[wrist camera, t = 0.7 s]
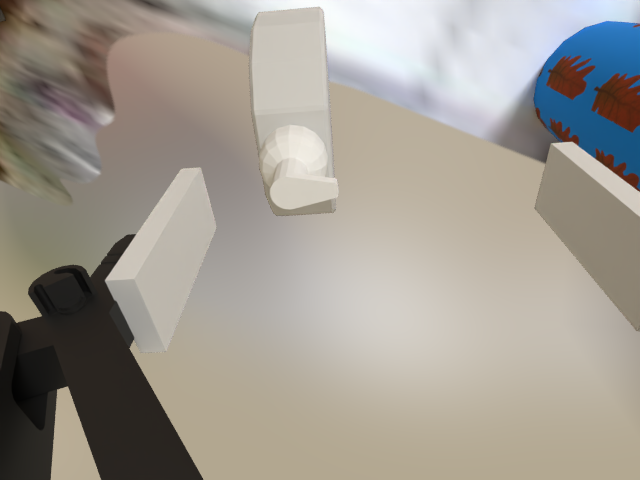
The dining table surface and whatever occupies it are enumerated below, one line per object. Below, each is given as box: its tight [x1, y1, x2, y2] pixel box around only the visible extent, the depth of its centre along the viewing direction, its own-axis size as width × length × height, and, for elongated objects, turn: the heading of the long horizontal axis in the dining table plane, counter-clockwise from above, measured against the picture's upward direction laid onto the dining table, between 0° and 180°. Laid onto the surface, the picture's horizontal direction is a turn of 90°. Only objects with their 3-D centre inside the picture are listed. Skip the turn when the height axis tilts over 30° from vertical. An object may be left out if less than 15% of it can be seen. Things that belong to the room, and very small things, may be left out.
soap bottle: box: [249, 7, 339, 216], centre depth 31 cm, size 16×5×20 cm, turn 5°
